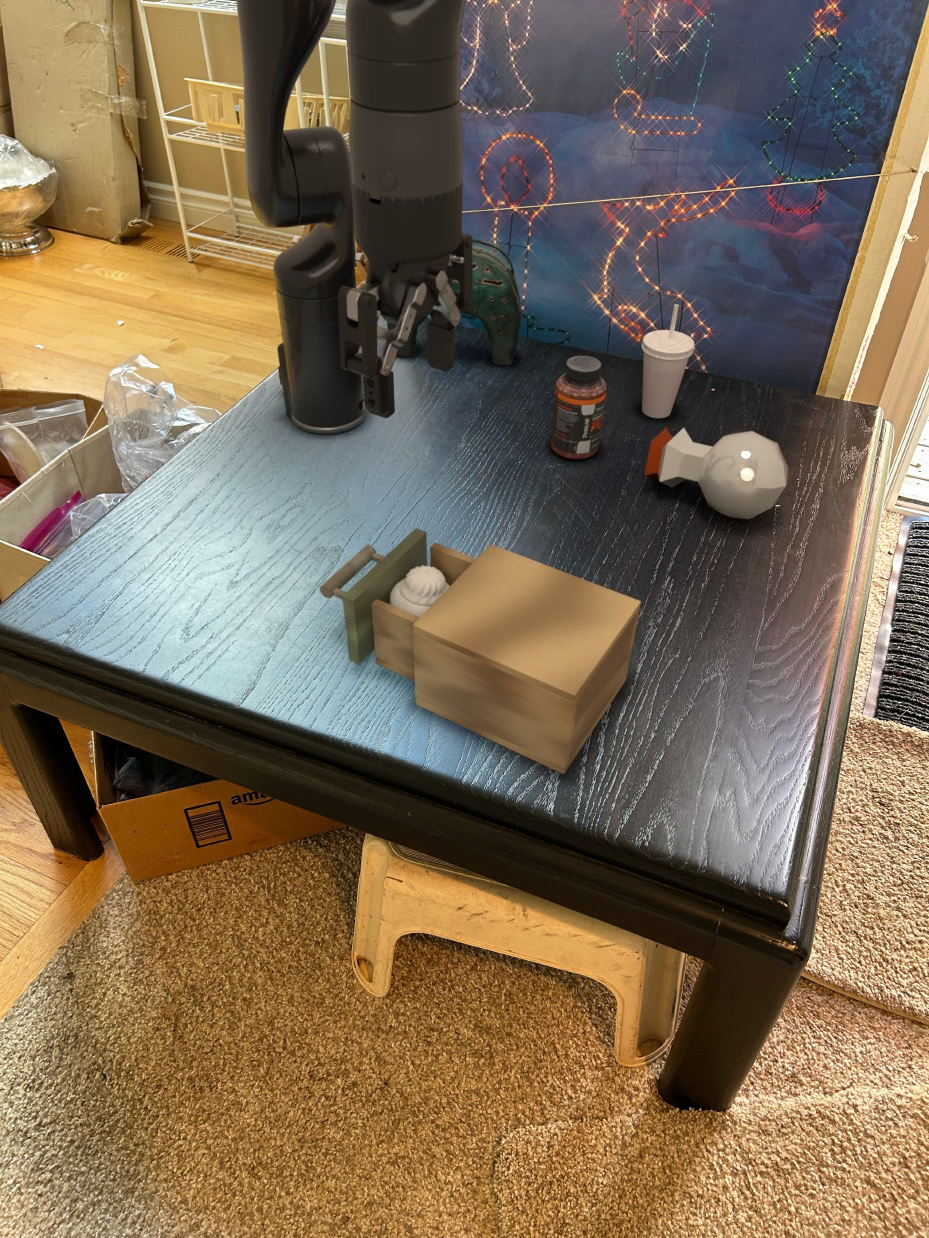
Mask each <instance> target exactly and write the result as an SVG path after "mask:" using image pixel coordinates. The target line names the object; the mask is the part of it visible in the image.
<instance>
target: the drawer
mask: <svg viewBox="0 0 929 1238" xmlns="http://www.w3.org/2000/svg"><path fill="white" fill-rule="evenodd" d="M427 533H428V532H427V531H425V530H424V529H423V530H422V529H420V528H418V527H416V528H414V529H413V530H412V531H411V532H410V533H409V534H408V535H407V536H406V537H404V539H402V541H401V542H399V543H398V544H397V545H396V546H395V547H394V548H393V549H392V550H391V551H389V552H388V553H387V554H386V555H382V554H379V553H377V551H376V549H375V547H374V546H372V545H370V544H368V545H365V546H364V547H363V548H362V549H360V550H359V551H358V552H357V553H356V554H355V555H353V556H352V557H351V558H350V559H349V560H348V561H347V562H346V563H345V564H343V565H342V566H341V567H340V568H339V569H338V570H337V571H336V572H334V573H333V574H332V575H331V576H330V577H329V578H328V579H327V580H325V582H324V583H322V584H321V585H320V586H319V592H320V594H321V595H322V596H323V597H324V598H326V599H331V598H332V597H335V598H337V599H339V600H342V606H343V615H344V624H345V635H346V644H347V653H348V661H350V662H352V663H354V664H356V665H358V666H360V665H361V664H363V662H364V661H366V659H367V658H368V657H369V656H370V655H371V654H372V653H373V652H374V657H375V664H376V665H378V666H380V667H382V668H385V669H386V670H388V671H391V672H393V673H395V674H397V675H399V676H401V677H404V678H406V679H408V680H410V681H412V682H414V683H415V670H414V642H413V624H414V623H415V622H416V621H417V620H418V619H419V618H420V617H418V616H416V615H413V614H411V613H409V612H406V611H404V610H402V609H399V608H397V607H395V606H392V605H390V593H391V591H392V589H393V587H394V586H395V585H396V584H397V583H398V582H399V581H401V580H402V579H404V578H406V575H407V574H408V573H410V570H411V569H415V567H417V566H418V567H421V566H422V565H423V566H428V540H427V539H428V537H427V536H428V535H427ZM429 551H430V552H429V553H430V555H429V556H430V557H429V558H430V567H435V568H436V569H437V570H439V571H441V573H442V574H443V576H444V578H445V581H446V583H447V584H448V585H449V586H451V585H452V584H453V583H454V582H455V581H456V580H457V579H458V578H459V577H460V575H461V574H462V573H463V572H464V571H465V570H466V569H467V568H468V567H469V566H470V565H471V564H472V563H473V562H474V561H475V560H476V559H477V558H476V557H473V556H470V555H468V554H465V553H463V552H460V551H458V550H455V549H453V548H450V547H448V546H444V545H442V544H441V543H437V542H433V543H432V544H431V545H430V549H429ZM371 562H375V563H377V564H375V566H373V567H372V568H371V569H370V570H369V571H368V572H367V573H365V575H363V576H362V577H361V579H359V580H358V581H357V582H356V583H355V584H354V585H353V586H351V587H350V588H349V589H348V590H347V591H345V590H343V589H342V588H344V586H346V584H348V583H349V582H350V581H351V580H353V578H355V577H356V575H358V574H359V573H360V572H361V571H362V570H363V569H365V568H366V567H367V566H368V565H369V564H370V563H371Z"/></svg>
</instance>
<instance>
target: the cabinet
mask: <svg viewBox="0 0 929 1238" xmlns="http://www.w3.org/2000/svg"><path fill="white" fill-rule="evenodd" d="M641 606H642V601H641V600H638V599H637V598H634V597H631V596H629V595H626V594H623V593H621V592H618V591H615V590H613V589H610V588H607V587H604V586H602V585H599V584H597V583H594V582H592V581H589V580H586V579H583V578H581V577H579V576H576V575H574V574H571V573H567V572H565V571H563V570H560V569H557V568H555V567H552V566H550V565H547V564H544V563H541V562H539V561H536V560H533V559H531V558H528V557H526V556H523V555H521V554H518V553H515V552H512V551H510V550H508V549H505V548H502V547H500V546H496V545H494V544H492V543H490V544H489V545H488V546H486V548H485V549H484V551H482V553H480V554H479V556H477V558H476V560H475V561H474V562H473V563H472V564H471V565H470V566H469V567H468V568H467V569H466V570H465V571H464V572H463V573H462V574H461V575H460V577H459V578H458V579H457V580H456V581H455V582H454V583H453V584H452V585H451V586H450V587H449V588H448V589H447V590H446V591H445V592H444V593H443V594H442V595H441V596H440V597H439V598H438V599H437V600H436V601H435V603H434V604H433V605H432V606H431V607H430V608H429V609H428V610H427V611H426V612H425V613H424V614H423V615H422V616H421V617H420V618H419V619H418V620H417V621H416V622H415V623H414V624H413V642H414V670H415V682H414V691H415V692H414V694H415V695H414V696H415V697H414V698H415V699H414V700H415V705H416V706H418V707H421V708H423V709H425V710H427V711H428V712H431V713H433V714H435V715H437V716H439V717H442V718H443V719H445V720H448V721H450V722H452V723H454V724H456V725H458V726H461V727H462V728H464V729H467V730H469V731H471V732H474V733H475V734H477V735H479V736H482V737H483V738H485V739H488V740H490V741H492V742H494V743H496V744H498V745H499V746H500V745H501V746H502V747H505V748H507V749H509V750H511V751H513V752H515V753H517V754H519V755H521V756H524V757H526V758H528V759H530V760H532V761H534V762H536V763H537V764H540V765H542V766H545V767H547V768H549V769H550V770H553V771H555V772H557V773H560V774H561V775H565V774H566V773H567V771H568V769H569V767H570V766H571V764H572V763H573V761H574V760H575V758H576V757H577V755H578V754H579V753H580V751H581V749H582V748H583V747H584V745H585V743H586V742H587V740H588V739H589V737H590V736H591V734H592V732H593V731H594V729H595V728H596V727H597V725H598V723H599V722H600V720H601V719H602V717H603V716H604V714H605V713H606V711H607V709H608V708H609V707H610V705H611V703H612V702H613V701H614V699H615V698H616V696H617V694H618V693H619V692H620V690H621V688H622V687H623V685H624V684H625V683H626V681H627V677H628V671H629V665H630V661H631V657H632V651H633V645H634V641H635V635H636V630H637V625H638V620H639V615H640V610H641Z"/></svg>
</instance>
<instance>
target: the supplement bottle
mask: <svg viewBox="0 0 929 1238" xmlns="http://www.w3.org/2000/svg"><path fill="white" fill-rule="evenodd" d="M601 374H602V362H601V361H600V360H598V359H597V358H596V357H593V356H589V355H574V356H572V357H570V358H568V359H567V361H566V364H565V369H564V374H563V373H562V374H561V376H559V378H557V381H556V384H555V389H554V400H553V411H552V421H551V432H550V447H551V449H552V451H553V452H554V453H555V454H557V455H558V456H559V457H560V456H561V457H563V458H566V459H569V460H585V459H588V458H590V457H592V456H594V455H595V454H596V453H598V451H599V447H600V443H601V434H602V429H603V419H604V412H605V405H606V396H607V383H606V380H604V378H602V376H601Z"/></svg>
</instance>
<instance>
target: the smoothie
mask: <svg viewBox="0 0 929 1238" xmlns="http://www.w3.org/2000/svg"><path fill="white" fill-rule="evenodd" d="M679 308H680V305H679V304H676V303H675V304H673V310H672V315H671V322H670V327H669V329H659V330H653V331H651V332H648V333H646V334H645V335H644V336H643V338H642V342H641V349H642V352H643V362H642V363H643V364H642V365H643V367H642V395H641V396H642V397H641V398H642V399H641V400H642V401H641V412H642V413H643V414H644V415H645V416H647V417H649V418H653V419H664V418H667V417H669V416H670V415H671V413H672V410H673V407H674V404H675V400H676V398H677V395H678V392H679V389H680V387H681V382H682V381H683V380H682V379H683V377H684V373H685V371H686V368H687V365H688V363H689V358H690V357H691V356H692V355H693V354H694V352H695V351H694V350H695V349H694V348H695V341H694V340H693V338H692V337H691V336H689V335H688V334H686V333H683V332H681V331H677V330H675V329H676V324H677V318H678V313H679Z"/></svg>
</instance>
